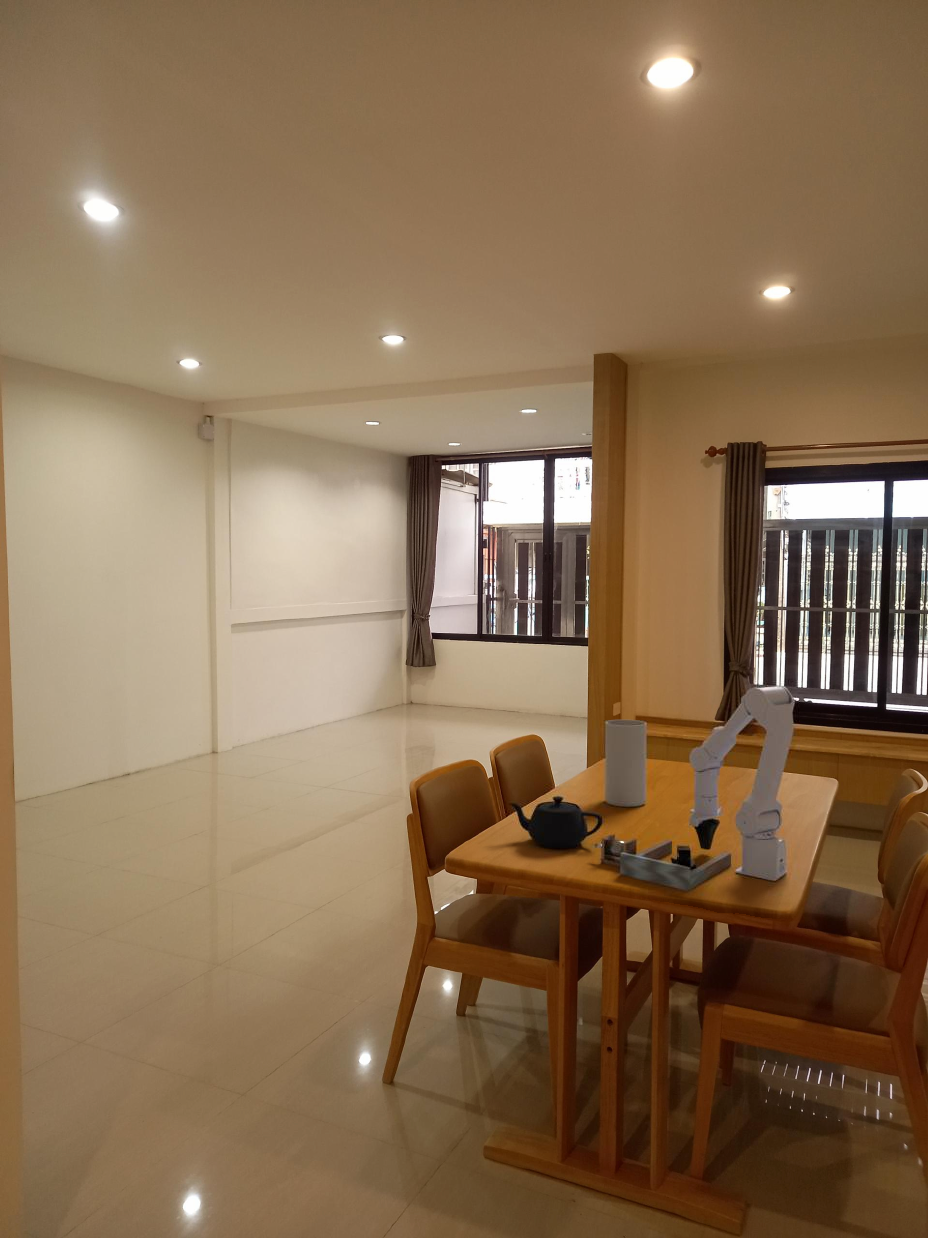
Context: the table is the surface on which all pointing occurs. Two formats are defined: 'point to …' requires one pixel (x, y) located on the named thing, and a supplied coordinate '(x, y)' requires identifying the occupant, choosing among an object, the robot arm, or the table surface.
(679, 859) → the black holder block
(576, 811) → the teapot
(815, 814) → the table surface
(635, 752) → the cylinder vase
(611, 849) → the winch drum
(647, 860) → the bay
